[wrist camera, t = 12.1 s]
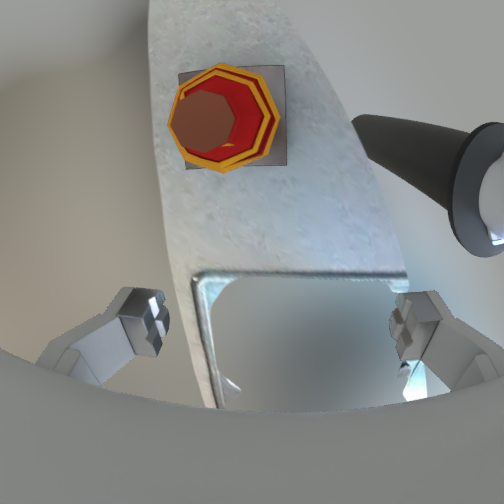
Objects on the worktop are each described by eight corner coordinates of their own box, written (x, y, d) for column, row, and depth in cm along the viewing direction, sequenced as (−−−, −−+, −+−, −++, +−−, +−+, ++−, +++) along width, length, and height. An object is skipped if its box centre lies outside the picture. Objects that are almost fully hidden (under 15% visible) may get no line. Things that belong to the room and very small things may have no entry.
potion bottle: (171, 122, 29) (103, 139, 16) (229, 56, 25) (196, 17, 12) (237, 177, 32) (214, 230, 19) (299, 115, 28) (324, 119, 15)
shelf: (281, 73, 32) (284, 65, 26) (284, 156, 37) (286, 165, 31) (193, 78, 33) (178, 73, 26) (199, 159, 38) (185, 169, 32)
